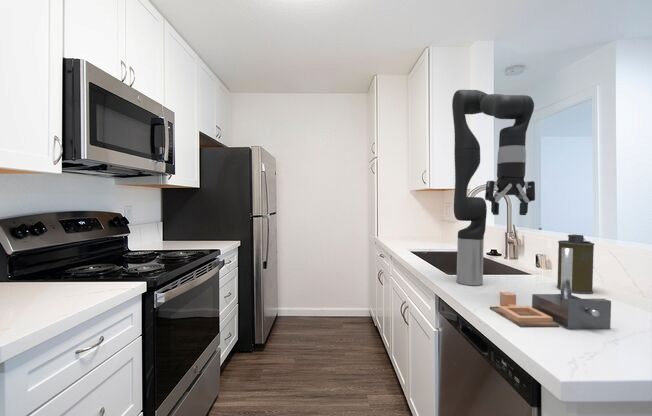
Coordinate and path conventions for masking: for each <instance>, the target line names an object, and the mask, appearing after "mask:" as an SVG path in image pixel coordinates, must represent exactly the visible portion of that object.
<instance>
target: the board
mask: <svg viewBox="0 0 652 416" xmlns="http://www.w3.org/2000/svg"><path fill="white" fill-rule="evenodd" d="M489 309H490V310H491V311H493V312H495V313H497V314H498V315H499V316H501V317H503V318H505V319H506V320H508V321H510V322H511V323H513V324H515V325H517V326H518V327H520V328H559V327H560V325H559V324H557V323H555V322H517V321H515V320H514V319H512V318H510V317H508V316H507V315H505V314H503V313H502V312H500V311H498V306H489ZM514 313H516V314H518V315H520V316H534V315H532V314H530V313H528V312H514Z"/></svg>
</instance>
